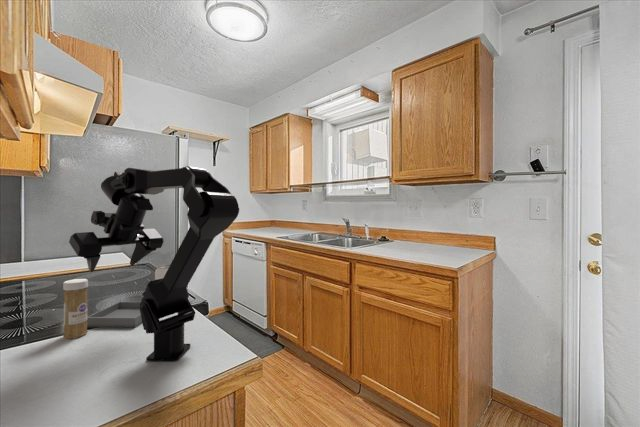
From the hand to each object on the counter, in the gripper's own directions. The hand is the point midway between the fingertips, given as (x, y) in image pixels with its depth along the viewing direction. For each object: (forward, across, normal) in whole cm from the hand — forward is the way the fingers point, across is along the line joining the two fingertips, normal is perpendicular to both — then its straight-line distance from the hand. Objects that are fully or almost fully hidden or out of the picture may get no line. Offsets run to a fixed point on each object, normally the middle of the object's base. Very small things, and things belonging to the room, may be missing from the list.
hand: (112, 267), depth 72 cm
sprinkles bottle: (+16, +6, +5) cm, 18 cm away
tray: (+16, -6, +4) cm, 18 cm away
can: (+18, -20, +2) cm, 27 cm away
